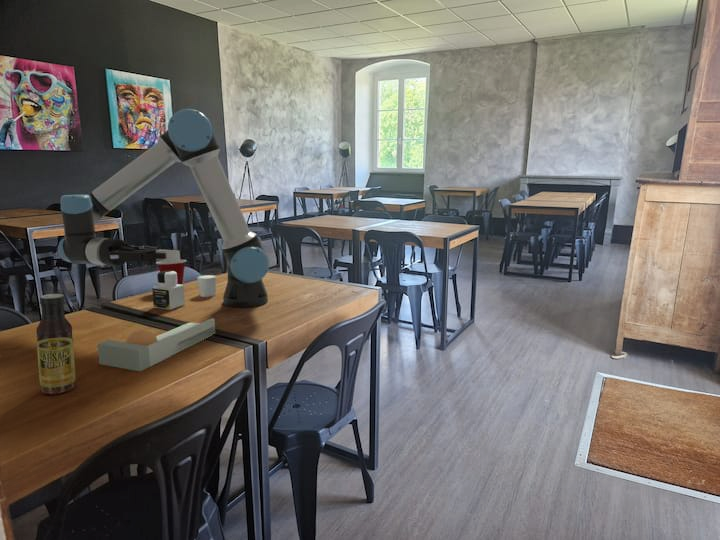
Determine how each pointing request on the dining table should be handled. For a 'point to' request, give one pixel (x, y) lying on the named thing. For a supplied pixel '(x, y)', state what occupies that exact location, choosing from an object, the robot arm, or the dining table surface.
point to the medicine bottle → (168, 291)
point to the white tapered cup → (207, 285)
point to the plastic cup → (173, 268)
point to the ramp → (154, 347)
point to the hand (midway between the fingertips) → (178, 256)
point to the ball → (142, 338)
